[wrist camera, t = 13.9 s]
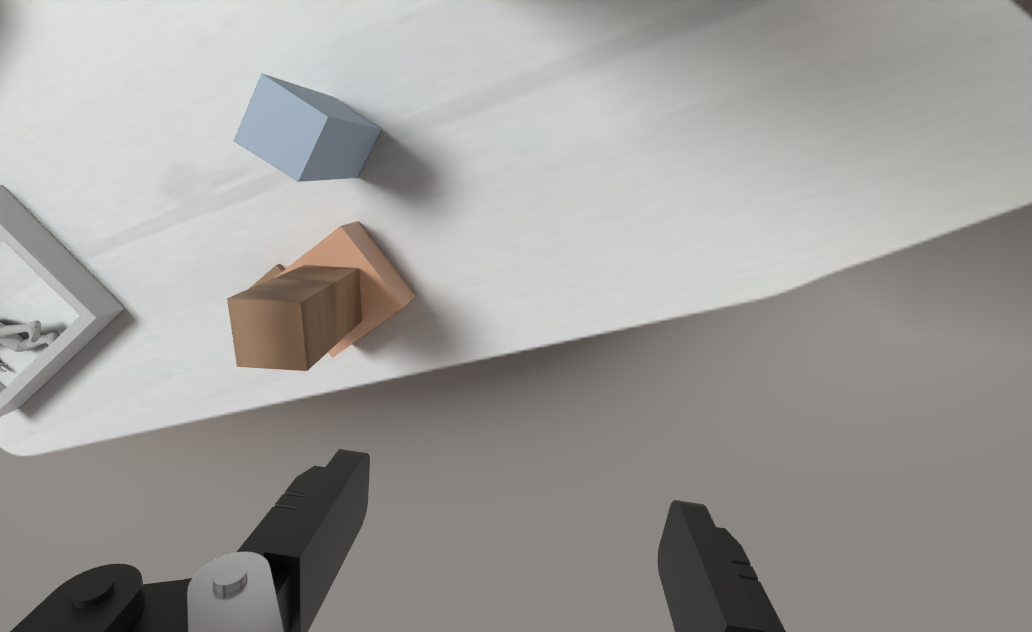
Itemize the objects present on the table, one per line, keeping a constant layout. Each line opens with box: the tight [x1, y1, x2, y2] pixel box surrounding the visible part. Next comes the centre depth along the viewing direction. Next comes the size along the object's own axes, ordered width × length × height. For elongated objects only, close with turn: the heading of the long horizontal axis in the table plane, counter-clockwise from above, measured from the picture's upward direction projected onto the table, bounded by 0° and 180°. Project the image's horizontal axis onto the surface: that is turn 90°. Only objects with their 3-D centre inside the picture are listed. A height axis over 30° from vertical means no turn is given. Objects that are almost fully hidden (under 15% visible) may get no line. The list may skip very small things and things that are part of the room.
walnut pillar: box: [227, 265, 362, 371], centre depth 34 cm, size 4×4×10 cm
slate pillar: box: [234, 74, 382, 182], centre depth 34 cm, size 4×4×10 cm
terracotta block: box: [275, 221, 415, 358], centre depth 41 cm, size 8×8×4 cm
